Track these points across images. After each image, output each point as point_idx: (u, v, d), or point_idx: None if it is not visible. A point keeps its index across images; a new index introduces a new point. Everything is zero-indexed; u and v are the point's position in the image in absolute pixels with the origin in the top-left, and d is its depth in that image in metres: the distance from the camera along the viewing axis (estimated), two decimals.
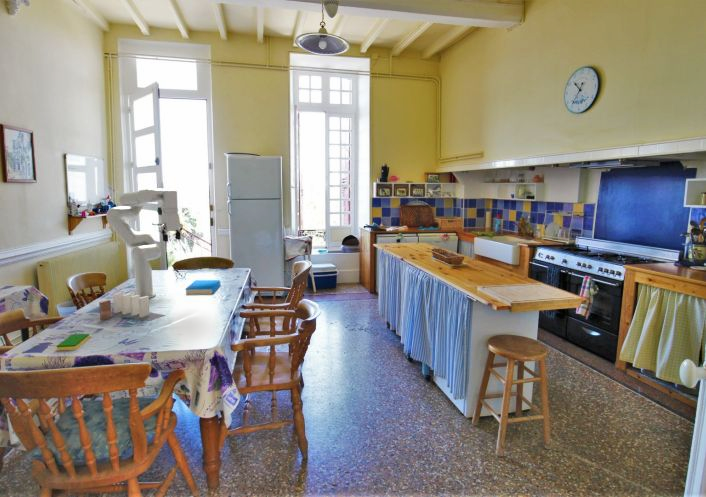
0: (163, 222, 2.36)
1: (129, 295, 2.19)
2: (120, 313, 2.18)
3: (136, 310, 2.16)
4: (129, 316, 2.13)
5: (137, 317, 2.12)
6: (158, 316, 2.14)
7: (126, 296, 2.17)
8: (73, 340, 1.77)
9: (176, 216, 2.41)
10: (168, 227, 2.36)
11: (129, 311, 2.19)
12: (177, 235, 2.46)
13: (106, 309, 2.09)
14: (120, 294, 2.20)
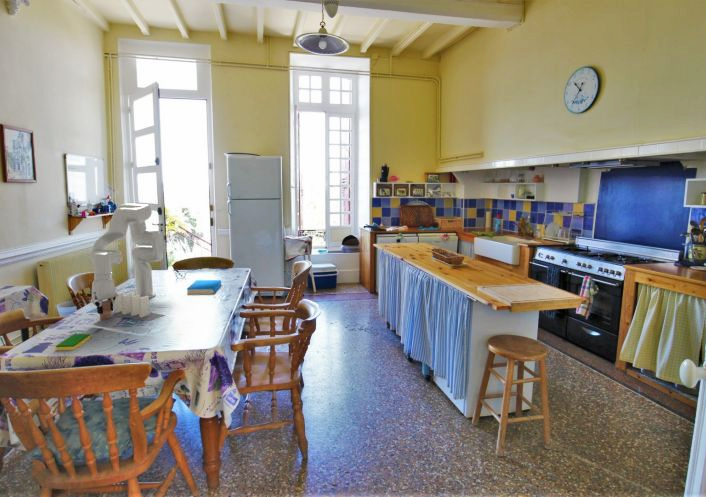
0: (93, 292, 2.03)
1: (129, 295, 2.19)
2: (120, 313, 2.18)
3: (136, 310, 2.16)
4: (129, 316, 2.13)
5: (137, 317, 2.12)
6: (158, 316, 2.14)
7: (126, 296, 2.17)
8: (73, 340, 1.77)
9: (110, 283, 2.08)
10: (99, 297, 2.03)
11: (129, 311, 2.19)
12: None
13: (106, 309, 2.09)
14: (120, 294, 2.20)
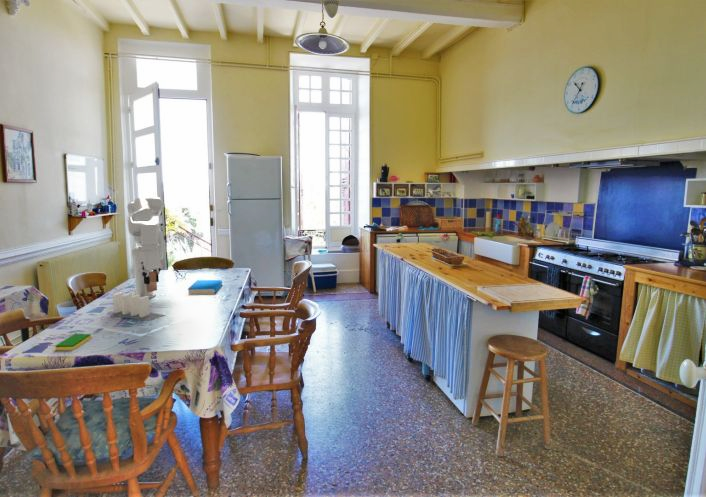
0: (141, 262, 2.04)
1: (129, 295, 2.19)
2: (120, 313, 2.18)
3: (136, 310, 2.16)
4: (129, 316, 2.13)
5: (137, 317, 2.12)
6: (158, 316, 2.14)
7: (126, 296, 2.17)
8: (73, 340, 1.77)
9: (156, 253, 2.09)
10: (146, 267, 2.04)
11: (129, 311, 2.19)
12: None
13: (152, 280, 2.10)
14: (120, 294, 2.20)
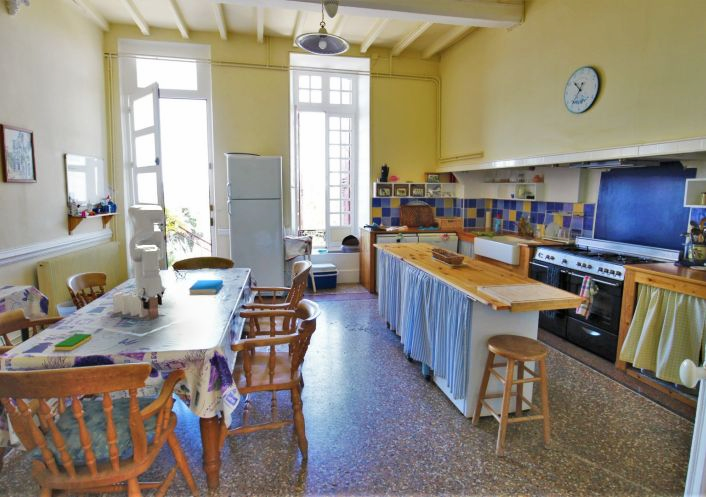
0: (142, 287, 2.06)
1: (129, 295, 2.19)
2: (120, 313, 2.18)
3: (136, 310, 2.16)
4: (129, 316, 2.13)
5: (137, 317, 2.12)
6: (158, 316, 2.14)
7: (126, 296, 2.17)
8: (73, 340, 1.77)
9: (157, 279, 2.11)
10: (148, 293, 2.06)
11: (129, 311, 2.19)
12: (158, 300, 2.15)
13: (154, 306, 2.12)
14: (120, 294, 2.20)
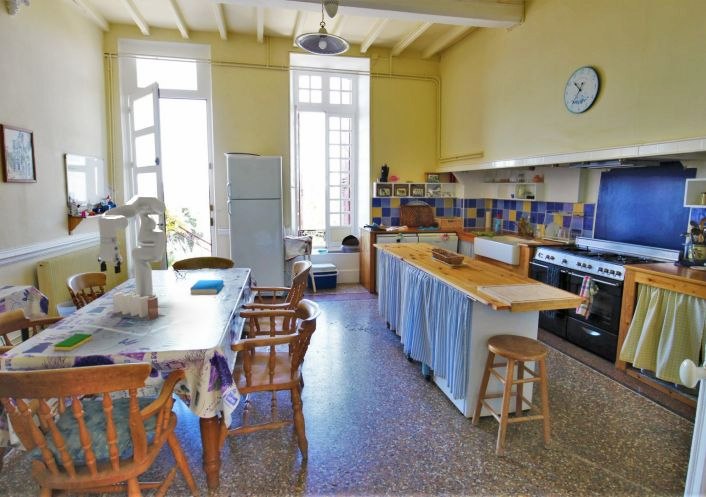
0: None
1: (129, 295, 2.19)
2: (120, 313, 2.18)
3: (136, 310, 2.16)
4: (129, 316, 2.13)
5: (137, 317, 2.12)
6: (158, 316, 2.14)
7: (126, 296, 2.17)
8: (72, 340, 1.77)
9: (107, 247, 2.15)
10: (100, 257, 2.18)
11: (129, 311, 2.19)
12: None
13: (154, 306, 2.12)
14: (120, 294, 2.20)
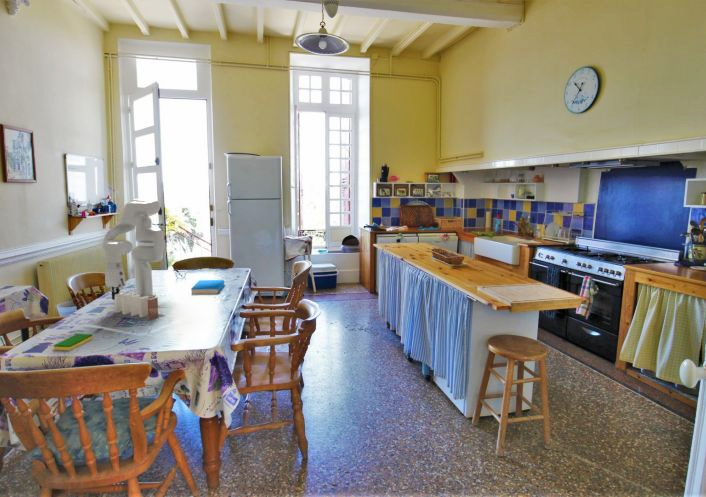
0: None
1: (129, 295, 2.19)
2: (120, 313, 2.18)
3: (136, 310, 2.16)
4: (129, 316, 2.13)
5: (137, 317, 2.12)
6: (158, 316, 2.14)
7: (126, 296, 2.17)
8: (72, 340, 1.77)
9: (112, 272, 2.16)
10: (105, 282, 2.19)
11: (129, 311, 2.19)
12: None
13: (154, 306, 2.12)
14: (122, 294, 2.20)
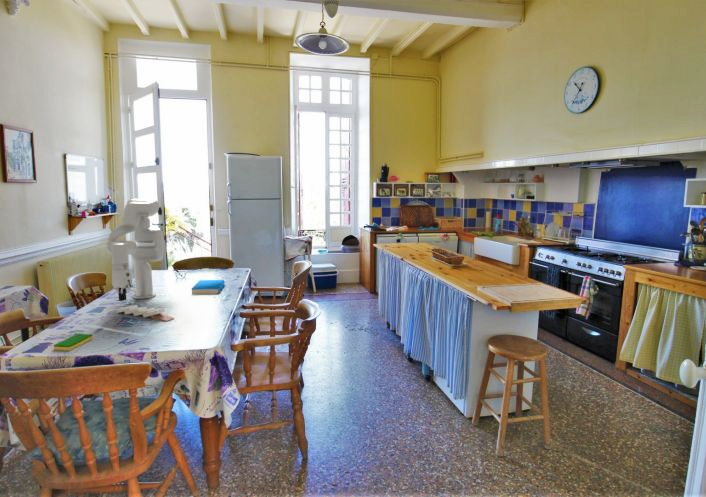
0: None
1: None
2: (120, 313, 2.18)
3: None
4: (129, 316, 2.13)
5: (137, 317, 2.12)
6: None
7: None
8: (72, 340, 1.77)
9: (119, 273, 2.14)
10: (112, 283, 2.17)
11: None
12: None
13: None
14: (134, 308, 2.18)
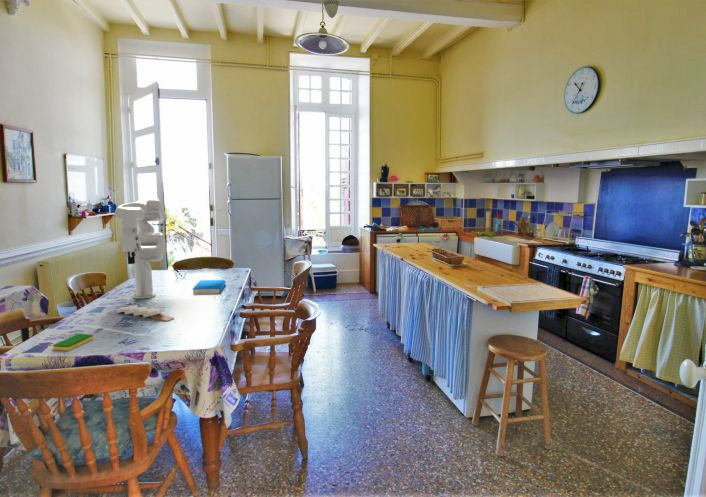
0: None
1: None
2: (120, 313, 2.18)
3: None
4: (129, 316, 2.13)
5: (137, 317, 2.12)
6: None
7: None
8: (72, 340, 1.77)
9: (128, 237, 2.24)
10: (121, 247, 2.27)
11: None
12: None
13: None
14: (134, 308, 2.18)
